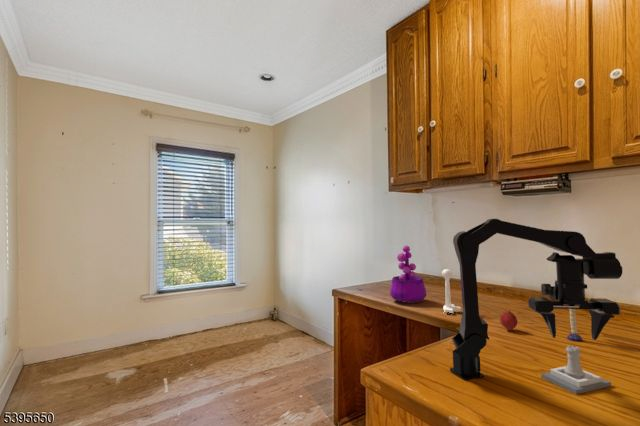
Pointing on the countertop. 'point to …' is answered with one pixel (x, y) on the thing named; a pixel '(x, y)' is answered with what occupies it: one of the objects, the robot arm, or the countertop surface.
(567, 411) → the countertop surface
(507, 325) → the onion
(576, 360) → the rook chess piece
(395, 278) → the decorative plant
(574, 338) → the toy lamp
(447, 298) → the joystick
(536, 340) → the countertop surface
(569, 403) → the countertop surface
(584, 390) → the collar plate
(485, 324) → the robot arm
